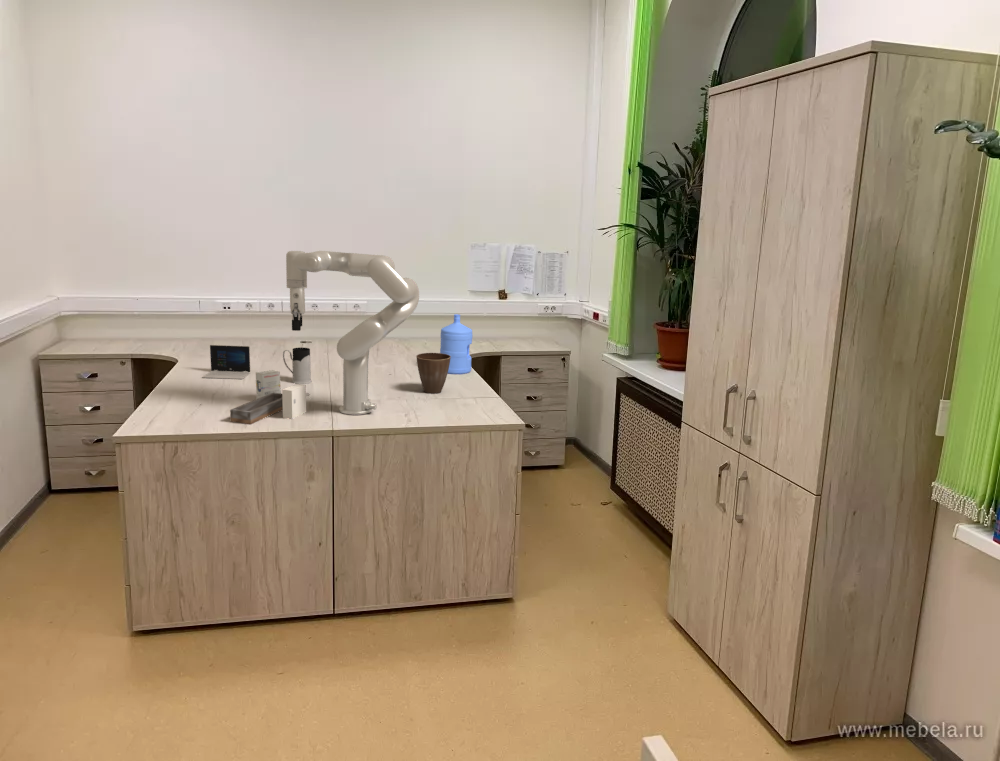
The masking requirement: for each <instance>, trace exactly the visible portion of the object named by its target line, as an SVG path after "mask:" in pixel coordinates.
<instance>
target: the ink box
mask: <svg viewBox="0 0 1000 761" xmlns="http://www.w3.org/2000/svg"><path fill="white" fill-rule="evenodd" d="M255 387H256V388H255V389H256V390H255V392H256V394H255V395H256V398H255V400H256V399H258V398H261V397H263V396H266V395H269V394H271V393H281V394H282V390H281V388H282V387H281V372H280V371H279V370H275V369H271V370H270V369H269V370H263V371H257V372H255Z"/></svg>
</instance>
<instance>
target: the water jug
mask: <svg viewBox="0 0 1000 761" xmlns="http://www.w3.org/2000/svg"><path fill="white" fill-rule="evenodd" d="M472 344H473V329H472V328H471V327H468V326H467V325H464V324H462V323H461V314H457V313H456V314H455V313H454V314H453V323H450V324H447V325H446V326H443V327H442V328H441V329H440V349H439V353H442V354H447V355H450V356H451V359H450V365H449V369H448V373H447V374H451V375H463V374H468V373H470V372H471V371H472V356H471V355H470V349H471V348H470V346H471V345H472Z"/></svg>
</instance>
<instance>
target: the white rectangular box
mask: <svg viewBox="0 0 1000 761" xmlns="http://www.w3.org/2000/svg"><path fill="white" fill-rule="evenodd" d="M281 394H282V400H283V410H282V419H287V418H289V419H288V420H293V419H296V418H297V416H298V417H300V416H302V415H304V414H306V413H307V384H292V385H290V386H288V387H285V388H283V389H282V390H281ZM305 412H306V413H305ZM303 413H304V414H303ZM301 414H302V415H301ZM299 415H300V416H299ZM295 417H296V418H295Z"/></svg>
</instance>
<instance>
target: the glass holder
mask: <svg viewBox="0 0 1000 761" xmlns="http://www.w3.org/2000/svg"><path fill="white" fill-rule="evenodd" d="M285 352H288V353H289V354H290V355H289V358H290V360H291V361H292V365H291V366H292V369H291V368H290V367H289V365H288V364H287V363H286V362H287V361H286V358H285ZM282 358H283V359H282V360H283V363H284V365H285V367H286V368H287V369H288V370H289V372H290V373H291V374H292V380H291V383H292V384H294V383H295V384H301V385H308V384H311V383H312V382H313V381H312V379H311V378H312V377H311V372H312V367H311V366H312V365H311V362H312V361H311V348H309V347H294V348H292V352H291V350H289V349H284V350H283V352H282ZM295 384H294V385H295Z"/></svg>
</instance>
